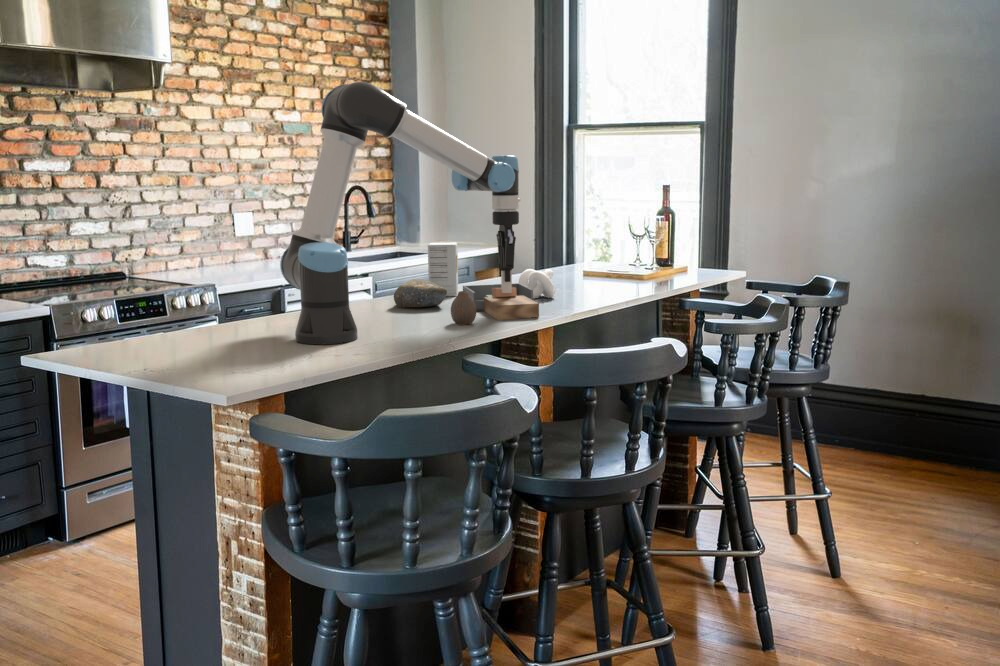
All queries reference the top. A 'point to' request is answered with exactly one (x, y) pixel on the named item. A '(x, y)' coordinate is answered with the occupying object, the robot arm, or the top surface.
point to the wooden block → (511, 307)
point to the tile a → (497, 293)
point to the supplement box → (444, 266)
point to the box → (482, 290)
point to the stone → (419, 294)
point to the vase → (463, 309)
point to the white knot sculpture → (538, 282)
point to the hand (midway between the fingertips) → (506, 292)
